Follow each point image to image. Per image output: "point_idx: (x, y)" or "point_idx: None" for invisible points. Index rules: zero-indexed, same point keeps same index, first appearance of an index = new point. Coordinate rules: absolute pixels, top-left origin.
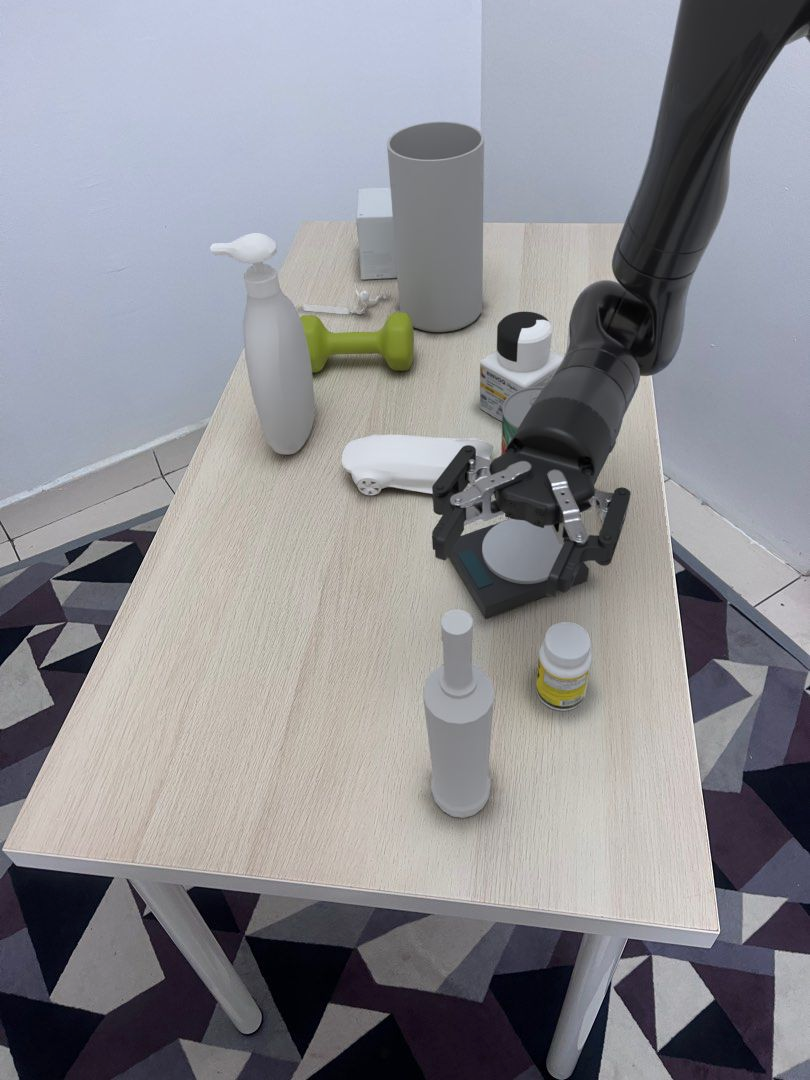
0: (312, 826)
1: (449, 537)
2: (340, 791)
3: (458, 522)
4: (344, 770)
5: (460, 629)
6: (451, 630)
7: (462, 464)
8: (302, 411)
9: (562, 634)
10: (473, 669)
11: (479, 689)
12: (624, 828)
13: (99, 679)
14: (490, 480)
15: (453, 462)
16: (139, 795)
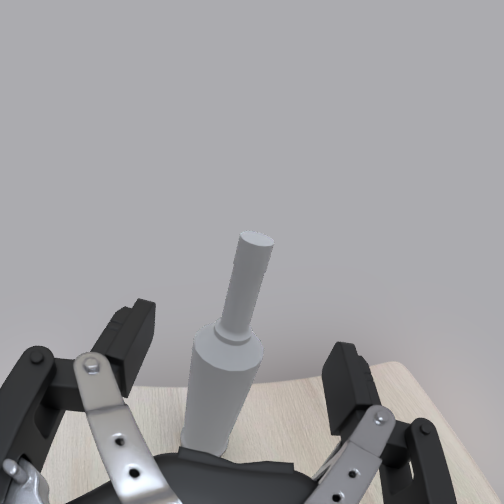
0: (289, 404)
1: (339, 360)
2: (285, 426)
3: (346, 391)
4: (291, 439)
5: (249, 233)
6: (258, 233)
7: (435, 502)
8: None
9: None
10: (222, 352)
11: (210, 332)
12: (80, 428)
13: (447, 425)
14: (358, 473)
15: (450, 495)
16: (380, 390)
